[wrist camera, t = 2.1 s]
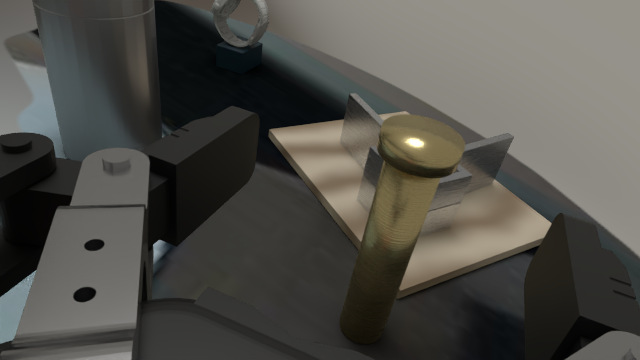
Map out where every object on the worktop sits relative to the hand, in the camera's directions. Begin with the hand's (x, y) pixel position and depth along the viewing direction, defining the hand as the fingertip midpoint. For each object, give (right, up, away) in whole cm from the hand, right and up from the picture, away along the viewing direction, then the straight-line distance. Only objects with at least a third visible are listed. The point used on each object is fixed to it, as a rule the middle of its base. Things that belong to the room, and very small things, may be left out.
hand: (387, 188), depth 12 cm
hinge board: (+7, 0, +36) cm, 37 cm away
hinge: (+8, +1, +36) cm, 37 cm away
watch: (-14, +17, +56) cm, 60 cm away
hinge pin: (+1, -10, +21) cm, 23 cm away
